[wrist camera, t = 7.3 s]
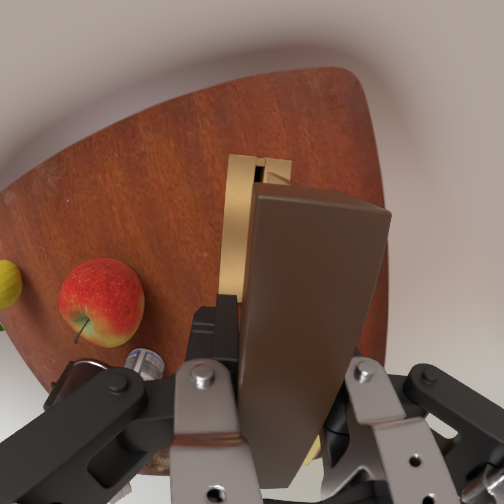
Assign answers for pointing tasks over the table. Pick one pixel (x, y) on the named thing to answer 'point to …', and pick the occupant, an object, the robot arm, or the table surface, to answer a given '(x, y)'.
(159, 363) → the pill bottle
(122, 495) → the ice cream cone
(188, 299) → the table surface
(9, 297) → the lemon
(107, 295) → the apple
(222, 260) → the stand
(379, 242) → the bench scraper
